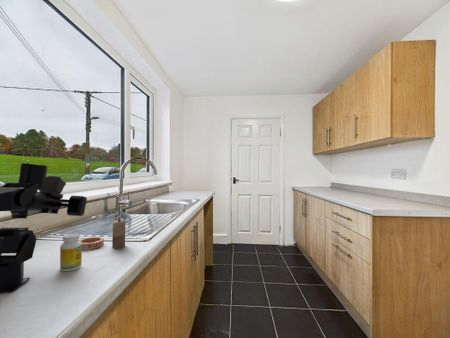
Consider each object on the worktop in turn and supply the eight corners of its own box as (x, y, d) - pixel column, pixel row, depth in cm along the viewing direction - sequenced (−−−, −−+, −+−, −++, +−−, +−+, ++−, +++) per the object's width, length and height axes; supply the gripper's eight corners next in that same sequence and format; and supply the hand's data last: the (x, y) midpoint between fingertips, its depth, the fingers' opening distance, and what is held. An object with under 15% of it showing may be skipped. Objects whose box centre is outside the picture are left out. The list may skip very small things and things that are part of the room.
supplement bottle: (64, 265, 72) (64, 233, 72) (84, 263, 74) (84, 232, 74) (56, 272, 67) (57, 238, 67) (77, 270, 68) (78, 237, 68)
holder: (98, 249, 86) (99, 243, 86) (73, 250, 85) (73, 244, 85) (106, 242, 95) (107, 236, 95) (83, 242, 93) (83, 237, 93)
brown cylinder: (123, 248, 88) (123, 217, 88) (110, 248, 87) (111, 217, 87) (126, 244, 92) (126, 214, 92) (114, 245, 91) (114, 215, 91)
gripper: (74, 176, 70) (101, 185, 85) (12, 172, 70) (50, 182, 86) (66, 215, 68) (95, 216, 83) (2, 211, 68) (42, 213, 83)
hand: (70, 206), depth 84 cm, fingers open, 9 cm apart
